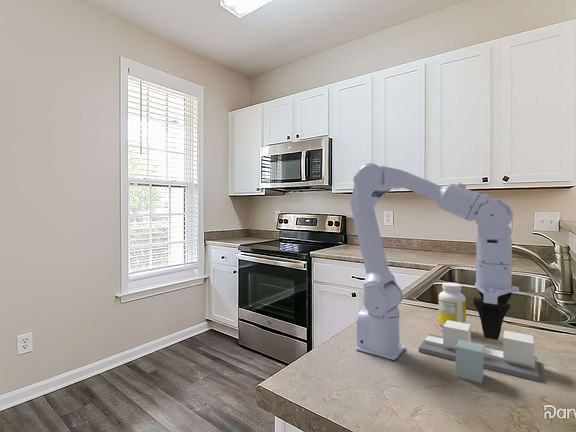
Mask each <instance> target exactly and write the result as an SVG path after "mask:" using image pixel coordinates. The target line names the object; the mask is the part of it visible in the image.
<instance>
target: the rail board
mask: <svg viewBox="0 0 576 432" xmlns="http://www.w3.org/2000/svg"><path fill="white" fill-rule="evenodd" d="M471 327H472V325H471V324H470V323H467V322H466V323H461V322H455V321H450V320H447V321H446V323H445V324H444V326H443V331H442V336H440V335H435V334H431V333H428V334H427V336H426V337H425V339H424V340H423V341H422V342H421V344H420V345H419V347H418V353H423V354H427V355H431V356H435V357H438V358H443V359H447V360H451V361H455V362H456V345H457V342H458V340H462V341H467V342H471V343H472V337H471V336H472V333H471V332H472V328H471ZM503 331H504V332H503V336H502V337H503V338H502V342H503V344H502V345H503V346H502V347H503V348H502V349H501V348H497V347H493V346H492V347H491V346H487V345H484V369H487V370H491V371H495V372H499V373H503V374H507V375H509V376H510V375H511V376H515V377H519V378H523V379H527V380H530V381H535V382H538V383H539V382H540V373H539V372H540V371H539V365H538V364H539V363H538V357H537V356H534V353H535V352H534V351H535V350H534V348H535V346H534V335H529V334H526V333H520V332H514V331H509V330H503Z"/></svg>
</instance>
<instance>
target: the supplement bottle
mask: <svg viewBox="0 0 576 432" xmlns="http://www.w3.org/2000/svg"><path fill="white" fill-rule="evenodd" d="M441 286H442V291H440V293H439V294H438V328H439V330H440V331H442V332H443V326H444V324H445V323H446V321H447V320H450V321H455V322H461V323H466V324H467V309H466V308H467V304H466V303H467V299H466V296H465V294H464V293H462V292H461V291H462V287H463V286H462V284H460V283H458V282H443V283H442V285H441Z"/></svg>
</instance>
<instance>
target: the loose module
mask: <svg viewBox="0 0 576 432" xmlns="http://www.w3.org/2000/svg"><path fill="white" fill-rule="evenodd" d="M484 346H485V345H484V344H481V343H475V342H472V341H471V342H467V341H462V340H458V342H457V345H456V361H455V377H456V378H461V379H464V380H469V381H472V382H476V383H479V384H483V380H484V377H485V368H484Z"/></svg>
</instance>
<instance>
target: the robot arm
mask: <svg viewBox="0 0 576 432" xmlns="http://www.w3.org/2000/svg"><path fill="white" fill-rule="evenodd" d="M353 184H354V186H353V190H352V194H351V198H350V207H351V212H352V217H353V222H354V226H355V230H356V231H355V232H356V234H357V238H358V239H357V240H358V243H359V248H360V252H361V253H360V254H361V256H362V261H363V265H364V269H365V274H366V275H365V278H364V281H363V285H362V287H363V290H364V291H363V292H364V293H363V297H362V300H363V301H362V302H363V305H364V308H363V309H361V310H360V311H358V315H357V319H356V347H355V350H356V351H360V352H364V353H367V354H371V355H374V356H379V357H381V358H384V359H389V360H392V361H395V360H397V358H398V357H399V356H400V355H401V353H403V351H404V350H405V349H406V346H405V345H402V344H400V310H399V306H400V304H401V303H402V301H403V297H404V296H403V291H402V289H401V287H400V286H399V285H398V284H397V281H396V279H395V276H394V274H393V273H392V272H391V271H390V269H389V266H388V261H387V258H386V253H385V249H384V245H383V244H384V243H383V241H382V237H381V232H380V229H379V224H378V220H377V216H376V212H375V206H376V204H377V203H378V202H379V200H380V199H381V198H382V197H383V196H384V195H386V194H387V193H389V192H390V191H391V190H392V189H393V190H394V189H396V190H397V189H402V188H404V189H406V190H409V191H411V192H414V193H417V194H419V195H422V196H425V197H427V198H429V199H432V200H435V202H436V204H437V206H438V209H440V210H442V211H445V212H447V213H450V214H452V215H454V216H456V217H459V218H461V219H463V220H466V221H469V222H471V221H475V224H476V225H477V236H476V252H475V253H476V254H475V255H476V258H475V259H476V261H475V262H476V263H475V265H476V266H475V267H476V268H475V269H476V270H475V273H476V274H475V283H474V287H475V289H477V290H478V293H479V295H480V297H481V298H480V297H474V298H473V299H472V302H473V305H474V307H475V308H476V310H477V312H478V316H479V318H480V324H481V329H482V332H483V336H484V338H485V339H489V340H493V341H494V340H495V341H498V340H499V339H500V335H501V330H502V327H503V321H504V318H505V316H506V315H507V313H508V312H509V309H510V308H511V304H510V303H508V302H509V300H510V298H511V297H512V293H519V292H520V287H519V286H515V285H512V273H513V272H512V269H513V266H512V265H513V262H512V261H513V259H512V258H513V239H512V237H511V236H512V231H513V230H512V228H511V226H510V224H511V222H512V221H513V217H514V213H513V209H512V208H511V206H510V205H509V204H507V203H506V202H504V201H502V200H500V199H491V197H492V195H491V194H489V193H486V192H485V193H484V194H482V193H479V192H477V191H474V190H472V189H469V188H466V187H467V185H466V184H463V183H461V182H458V184H455V183H450V184H446V185H444V186H442V185H440V184H437V183H434V182H431V181H429V180H427V179H425V178H423V177H421V176H418V175H415V174H413V173H410V172H408V171H405V170H402V169H398V168H393V167H389V166H385V165H378V164H376V163H373V162H371V163H365V164H363V165H362V166H361V167H360V168H359V169H358V170H357V172H356V173H355V174H354V176H353Z"/></svg>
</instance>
